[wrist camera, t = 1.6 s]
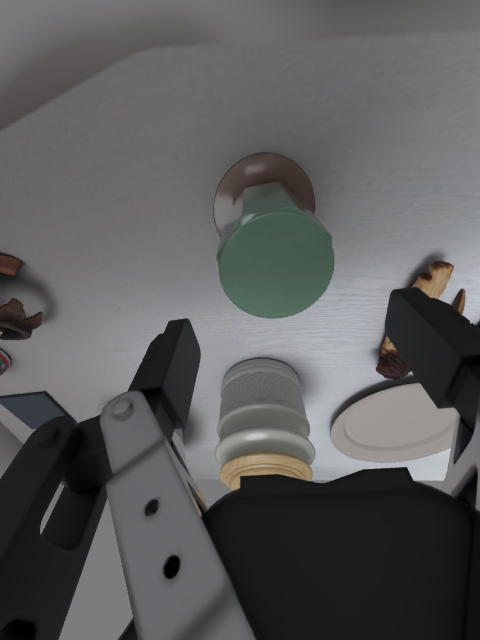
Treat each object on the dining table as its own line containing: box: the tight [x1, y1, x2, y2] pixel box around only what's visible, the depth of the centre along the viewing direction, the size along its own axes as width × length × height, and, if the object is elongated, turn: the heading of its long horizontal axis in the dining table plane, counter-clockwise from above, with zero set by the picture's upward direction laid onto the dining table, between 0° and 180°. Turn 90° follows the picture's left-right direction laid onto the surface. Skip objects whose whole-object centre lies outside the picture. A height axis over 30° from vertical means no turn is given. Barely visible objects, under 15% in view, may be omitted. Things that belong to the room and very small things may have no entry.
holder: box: [213, 153, 315, 237], centre depth 20 cm, size 10×10×14 cm
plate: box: [330, 383, 459, 463], centre depth 46 cm, size 26×26×2 cm
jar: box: [215, 359, 315, 491], centre depth 35 cm, size 13×13×18 cm
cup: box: [217, 182, 334, 318], centre depth 18 cm, size 6×6×9 cm
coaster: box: [0, 392, 77, 429], centre depth 48 cm, size 10×10×1 cm
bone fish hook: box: [376, 261, 465, 380], centre depth 31 cm, size 9×5×18 cm
